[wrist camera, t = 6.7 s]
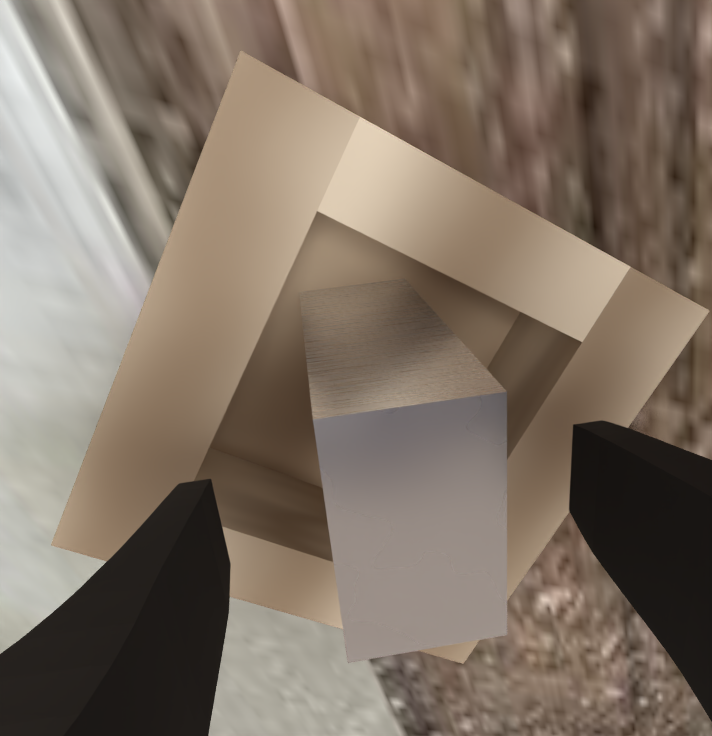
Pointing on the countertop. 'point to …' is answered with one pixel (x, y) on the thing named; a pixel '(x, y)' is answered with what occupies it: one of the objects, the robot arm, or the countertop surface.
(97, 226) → the countertop surface
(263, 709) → the countertop surface
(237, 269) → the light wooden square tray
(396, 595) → the brushed grey metal block
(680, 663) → the robot arm
